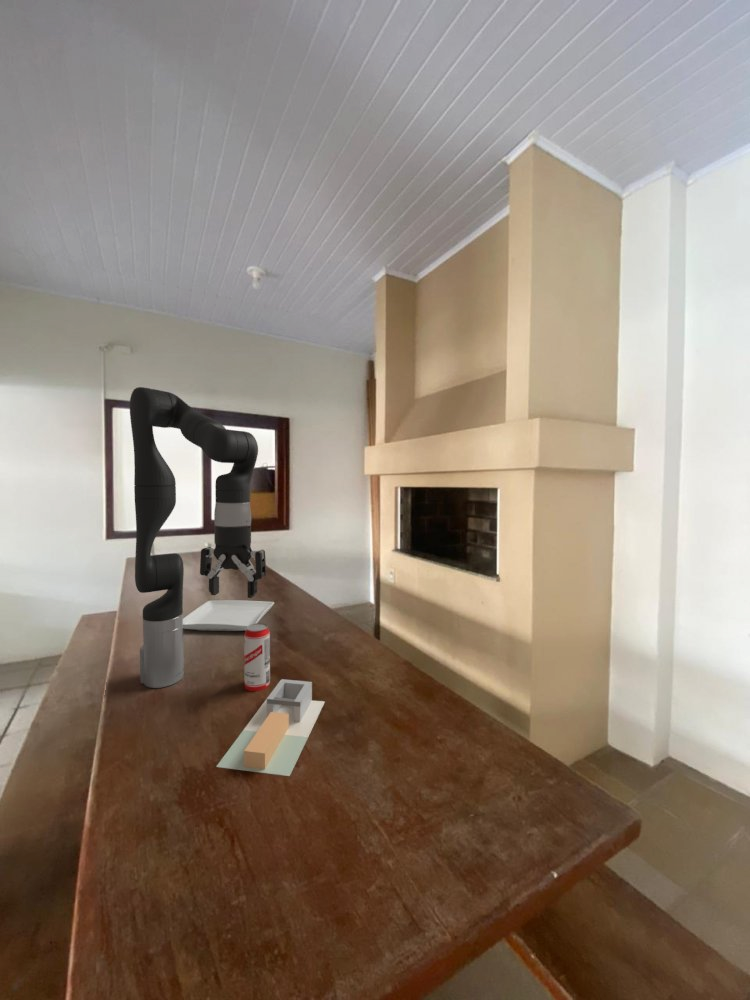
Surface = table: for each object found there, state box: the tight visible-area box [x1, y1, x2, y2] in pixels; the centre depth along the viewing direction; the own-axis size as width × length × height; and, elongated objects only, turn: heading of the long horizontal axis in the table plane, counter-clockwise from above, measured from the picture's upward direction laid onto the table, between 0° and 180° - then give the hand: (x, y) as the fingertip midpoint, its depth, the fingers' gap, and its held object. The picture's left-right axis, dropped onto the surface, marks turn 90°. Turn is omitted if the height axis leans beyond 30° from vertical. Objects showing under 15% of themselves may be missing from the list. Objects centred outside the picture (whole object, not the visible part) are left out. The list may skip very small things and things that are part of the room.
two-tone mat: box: [215, 678, 326, 777], centre depth 82 cm, size 14×23×6 cm, turn 172°
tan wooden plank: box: [244, 712, 289, 769], centre depth 77 cm, size 4×12×3 cm, turn 172°
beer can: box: [243, 622, 271, 692], centre depth 100 cm, size 6×6×16 cm
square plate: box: [183, 599, 275, 632], centre depth 147 cm, size 27×27×4 cm
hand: (233, 595), depth 86 cm, fingers open, 8 cm apart
